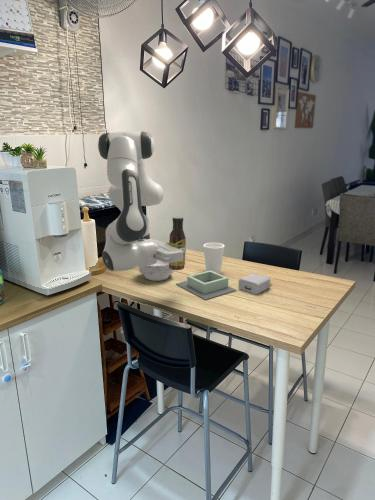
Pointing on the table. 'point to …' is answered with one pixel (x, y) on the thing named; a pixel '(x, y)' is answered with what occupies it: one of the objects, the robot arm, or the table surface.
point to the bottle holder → (214, 284)
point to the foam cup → (213, 256)
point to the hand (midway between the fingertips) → (179, 247)
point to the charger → (254, 283)
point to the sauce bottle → (177, 241)
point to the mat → (207, 295)
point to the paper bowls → (156, 271)
